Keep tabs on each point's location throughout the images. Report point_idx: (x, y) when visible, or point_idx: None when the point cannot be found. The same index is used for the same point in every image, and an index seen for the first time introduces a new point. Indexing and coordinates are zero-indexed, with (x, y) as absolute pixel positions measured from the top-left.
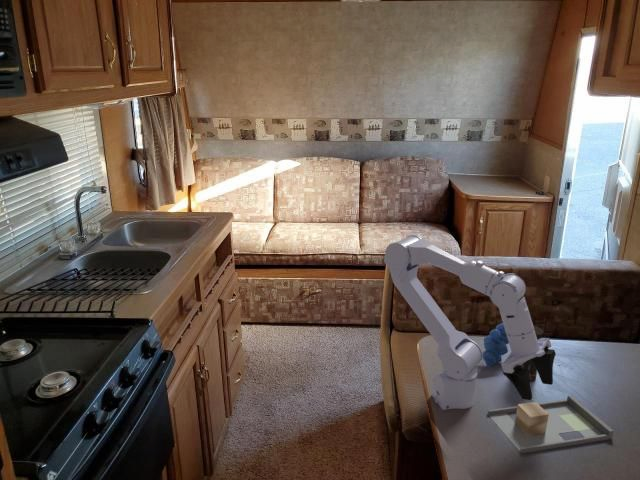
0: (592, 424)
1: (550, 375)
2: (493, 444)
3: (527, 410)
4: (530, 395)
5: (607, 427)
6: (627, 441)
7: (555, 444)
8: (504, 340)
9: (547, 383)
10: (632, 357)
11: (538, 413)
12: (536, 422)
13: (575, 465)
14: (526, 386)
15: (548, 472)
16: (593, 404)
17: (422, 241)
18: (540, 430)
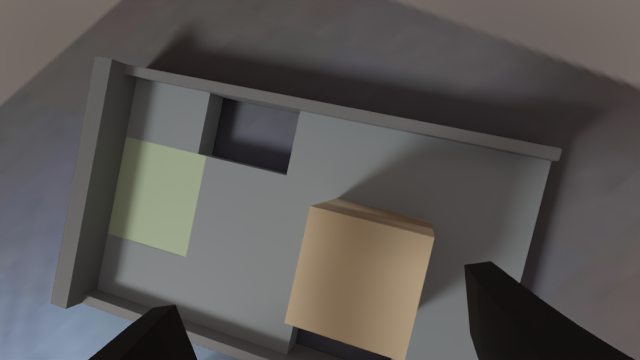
0: (119, 151)
1: (122, 358)
2: (587, 276)
3: (397, 290)
4: (501, 279)
5: (98, 81)
6: (79, 62)
7: (372, 112)
8: None
9: (183, 336)
10: None
11: (360, 238)
12: (387, 219)
13: (353, 37)
14: (617, 350)
15: (491, 46)
16: (12, 254)
17: None
18: (361, 207)
